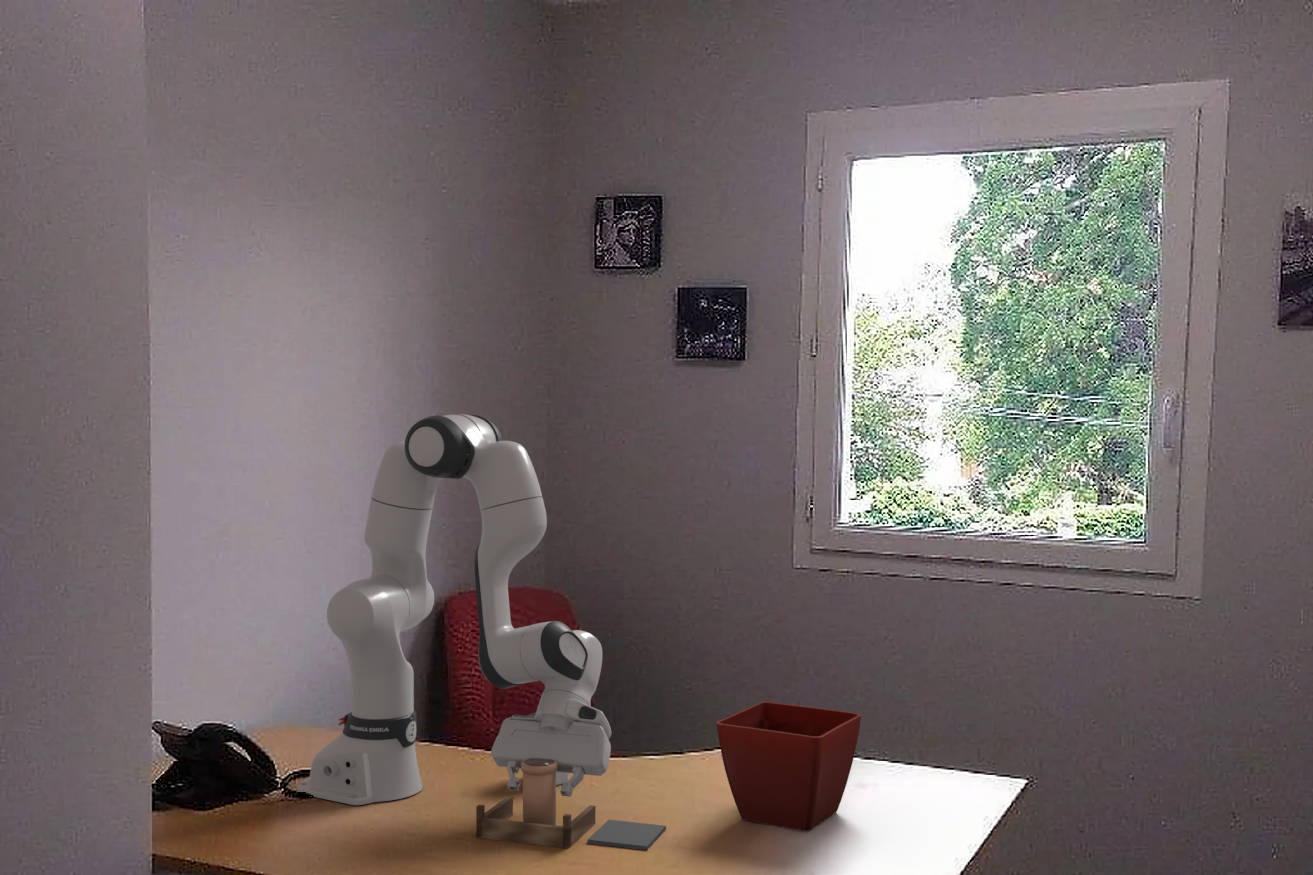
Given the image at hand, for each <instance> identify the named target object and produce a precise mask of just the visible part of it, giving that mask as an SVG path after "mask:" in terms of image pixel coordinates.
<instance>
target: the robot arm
mask: <svg viewBox="0 0 1313 875" xmlns="http://www.w3.org/2000/svg"><path fill="white" fill-rule="evenodd" d="M462 478H465V479H466V480H468V481H469V482H470V483H471V484H472V486H473V487H474V490H475V493H476V497H477V502H478V505H479V506H478V507H479V511H480V516H481V517H480V518H481V538H480V541H479V544H478V546H477V547H476V549H475V551H474V552H475V553H474V562H473V564H474V579H475V580H474V581H475V592H476V595H475V596H476V606H477V617H478V619H477V620H478V628H479V629H478V631H479V632H478V633H479V641H478V654H477V658H478V666H479V670H480V671H481V674H482V675H483V677H484V678H485V679H486V680H487V681H488V682H489V683H490V684H491V685H492V686H494V687H496V688H498V689H501V690H507V689H511V688H514V687H517V686H520V685H523V684H528V683H533V682H539V681H540V682H541V683H542V684H543V685H544V690H543V691H542V694H541V697H540V699H539V703H538V705H537V709H536V715H535V716H527V715H520V714H513V715H512V716H509V717H507V718H505V719H504V720H503V721H502V723H501V725H500V729H499V733H498V734H497V737H496V738H495V740H494V743H493V745H492V747H491V750H490V754H491V757H492V759H493V761H494V763H495V764H496V765H497V766H498V767H501V768H502V767H503V768H507V769H506V770H507V773H508V776H509V779H508V782H507V789H508V790H509V792H519V790H520V786H521V784H522V782H521V781H520V779H519V777H517V776H516V774H518V773H519V771H520V769H521V762H522V761H523V760H525V759H528V758H541V759H552V760H557V761H558V770H557V771H556V772H565V773H569V774H572V776H571V777H570V779H568V782H563V783H562V784H561V787H560V790H559V791H560V794H561V796H562V797H572V795H573V792H574V789H575V788H576V787H577V786H578V785H579V784H580V783H581V782H582V781H583V780H584V777H585V775H587V776H588V775H589V776H597V777H599V776H602V775H604V774H605V773H606V772H607V770H608V767H609V764H610V760H611V752H612V751H611V750H612V746H611V742H610V738H611V736H612V729H611V725H610V723H609V721H608V719H607V717H606V715H605V713H604V712H603V711H602V710H600V709H597V708H596V707H593V706H591V700H592V698H593V696H594V694H595V693H596V690H597V687H598V684H599V681H600V676H601V671H602V667H603V665H602V664H603V647H602V644H601V642H600V640H598V638H597V637H596V636H595V635H593V634H592V633H590V632H588V631H584V630H580V629H574V630H572V629H571V628H570V627H569V626H568V625H566V624H565V623H564V622H562V621H558V620H551V621H545V622H538V623H533V624H531V625H526V626H522V627H520V626H519V627H515V628H514V626H513V625H512V620H511V608H510V597H509V579H510V575H511V573H512V571H513V569H514V568H515V566H516V565H517V564H518V563H519V562H520V561H522V559H524V558H525V557H526V556H527V555H528V554H530V553H531V552H532V551H534V550H535V548H537V546H538V545H539V544H540V543H541V541H542V539H543V537H544V536H545V533H546V530H547V524H548V518H547V517H548V516H547V511H546V510H547V509H546V506H545V501H544V498H543V495H542V489H541V486H540V482H539V480H538V477H537V472H536V471H535V468H534V465H533V463H532V459H531V457H530V456H529V454H528V451H527V449H526V448H525V447H524V446H523V445H522V444H520V443H518V442H516V441H512V440H503V438H502V435H501V432H500V430H499V429H498V427H497V426H496V425H495V424H494V423H493V422H492V421H491V420H489V419H487V418H485V417H483V416H480V415H478V414H477V415H475V414H465V413H450V414H445V415H430V416H427V417H425V418H423V419H420V420H418V421H416V423H414V424H413V425H412V426H411V428H410V429H409V430H408V431H407V434H406V437H405V439H404V440H402V441H397V442H395V443H393V444H391V445H390V446H388V447H387V449H385V452H384V454H383V456H382V459H381V461H380V464H379V468H378V471H377V474H376V476H375V481H374V484H373V488H372V493H371V499H370V503H369V509H368V514H367V519H366V526H365V529H364V537H363V538H364V542H365V544H366V546H367V547H368V548H369V550H370V554H371V566H372V567H371V569H372V570H371V574H370V576H369V578H363V579H360V580H356V581H352V582H351V583H348V584H347V585H346V586H344V587H343V588H341V589H339V590H338V591H337V592H335V594H334V595H332V597H331V598H330V600H329V602H328V604H327V609H326V618H327V623H328V626H329V629H330V630H331V632H332V633H333V634H334V635H335V636H336V637H337V638H338V639H339V640H340V641H341V644H342V645H343V648H344V652H345V654H346V657H347V661H348V665H349V673H350V687H351V688H350V690H351V691H350V692H351V693H350V694H351V695H350V696H351V711H350V712H349V713H347V714H345V715H344V716H343V717H341V718H339V719H337V721H339V723H337V725H338V726H342V725H344V727H343V729H342V733H341V734H339V735H338V736H337V737H336V738H334V739H333V740H332V741H330V742H329V743H327V744H326V745H325V747H323V748H321V750H319V751H318V752H317V753H316V754H315V756H314V757H313V758H312V762H311V765H310V766H311V768H310V770H309V771H310V772H309V776H308V777H306V778H305V779H303V780H302V781H301V782H299V783H298V784H297V786H296V793H297V792H306V793H309V794H311V795H313V796H314V797H313V798H317V799H321V800H322V799H323V800H327V801H332V802H336V803H337V802H338V803H342V804H346V805H347V804H348V805H351V806H362V805H363V806H364V805H368V804H372V803H378V802H389V801H393V800H395V801H396V800H400V799H403V798H408V797H411V796H413V795H416V794H418V793H419V792H420V791H422V790H423V788H424V785H423V782H422V778H421V774H420V771H419V766H418V759H417V750H416V740H417V712H416V710H415V706H414V704H415V698H414V697H415V696H414V694H415V693H414V692H415V691H414V690H415V687H414V685H415V684H414V682H415V681H414V680H415V679H414V678H415V674H414V673H415V671H414V668H413V666H412V664H411V663H410V662H409V661H408V660H406V656H405V655H404V652H403V648H402V645H401V639H400V634H401V632H402V633H403V632H404V631H407V630H410V629H413V628H414V627H416V626H418V625H419V624H420V623H421V622H423V621H424V620H425V619H426V618H427V617H428V616H429V615H430V614H431V612H432V610H433V607H434V605H435V592H434V589H433V587H432V584H431V583H430V581H429V580H428V573H427V562H426V561H427V560H426V558H427V557H426V555H427V554H426V552H427V542H428V538H429V537H428V536H429V530H430V526H431V519H432V514H433V509H434V504H435V503H434V502H435V496H436V492H437V488H438V485H439V484H440V482H441V480H443V479H452V480H460V479H462Z"/></svg>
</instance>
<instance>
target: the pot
mask: <svg viewBox="0 0 1313 875" xmlns="http://www.w3.org/2000/svg"><path fill="white" fill-rule="evenodd" d="M557 770H558V761H557V760H552V759H541V758H528V759H525V760H523V761H522V762H521V768H520V771H521V772H522V822H530V823H539V824H547V825H556V826H557V822H556V821H557V818H556V816H557V808H556V807H557V806H556V805H557V801H556V800H557V785H556V771H557Z"/></svg>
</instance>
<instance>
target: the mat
mask: <svg viewBox="0 0 1313 875" xmlns="http://www.w3.org/2000/svg"><path fill="white" fill-rule="evenodd" d="M666 830H667V826H666V825H662V824H655V823H654V824H652V823H643V822H634V821H628V820H627V821H624V820H616V819H608V820H606V821H605V822H604V824H602V825H601V826H600V827H599V828H598V829H597V830H596V831H595V832H594V833H593V834H591V836H589V837H588V838H587V839H586V840H587V844H590V845H591V844H593V845H599V846H600V845H601V846H607V847H608V846H610V847H616V848H625V849H626V848H627V849H633V850H634V849H635V850H645V851H648V850H649V849H650V848H651V847H652V846H653V845H654V843H655V842H656V841H657V840H658V839H659V838H660V837H661V835H662V834H664V832H665V831H666Z"/></svg>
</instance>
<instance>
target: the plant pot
mask: <svg viewBox="0 0 1313 875" xmlns="http://www.w3.org/2000/svg"><path fill="white" fill-rule="evenodd" d="M861 719H862V714H860V713H856V712H849V711H844V710H843V711H842V710H838V709H837V710H835V709H829V708H822V707H814V706H806V705H795V704H789V703H788V704H787V703H780V702H779V703H778V702H771V701H762V702H758V703H757V704H753V705H752V706H750V707H748V708H745V709H743V710H741V711H738V712H736V713H734V714H732V715H730V716H727V717H725V718H723V719H720V720H717V721H716V729H717V735H718V737H717V738H718V742H719V747H720V753H721V758H722V761H723V762H722V763H723V766H724V770H725V775H726V778H727V781H728V785H729V787H730V791H731V795H732V797H733V800H734V803H735V806H736V808H737V810H738V813H739V814H738V815H739V816H740V818H741V819H742V820H744V821H750V822H754V823H755V822H757V823H759V824H760V823H761V824H766V825H771V826H776V827H780V828H786V829H791V830H796V831H803V832H808V831H812V830H813V829H815V828H816V827H817V826H819V825H820V824H822V823H823V822H825V821H826V820H828V819H829V818H830V817H832V816H833V815H834V814H836V813H837V812H838V809H839V807H840V804H841V802H842V800H843V799H842V798H843V795H844V793H845V790H846V787H847V785H848V781H849V776H850V772H851V770H852V765H853V761H854V757H855V753H856V749H857V745H858V744H857V743H858V740H859V733H860V728H861V721H862V720H861Z"/></svg>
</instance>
